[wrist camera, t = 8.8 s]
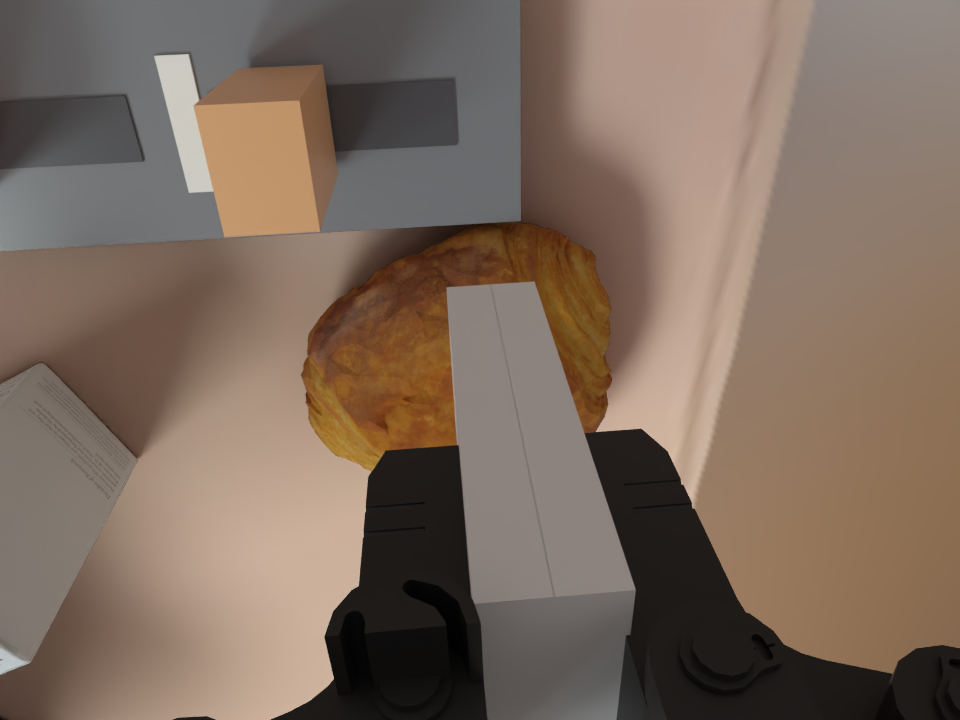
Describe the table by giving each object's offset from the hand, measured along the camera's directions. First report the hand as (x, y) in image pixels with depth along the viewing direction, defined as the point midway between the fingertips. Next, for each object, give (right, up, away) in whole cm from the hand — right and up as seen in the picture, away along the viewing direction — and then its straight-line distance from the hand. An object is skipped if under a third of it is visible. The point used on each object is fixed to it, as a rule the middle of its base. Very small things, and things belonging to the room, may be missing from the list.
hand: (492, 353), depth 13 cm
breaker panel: (-12, +10, +17) cm, 23 cm away
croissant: (-1, 0, +24) cm, 24 cm away
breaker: (-7, +9, +14) cm, 18 cm away
